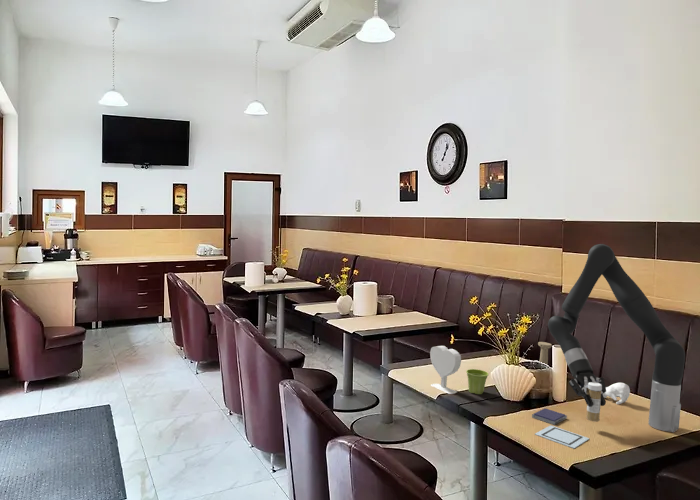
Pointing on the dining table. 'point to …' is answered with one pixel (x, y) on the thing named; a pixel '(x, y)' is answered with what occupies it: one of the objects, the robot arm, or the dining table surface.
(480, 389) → the plant pot
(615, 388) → the white bear figurine
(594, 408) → the sprinkles bottle
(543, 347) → the handle
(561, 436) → the print card
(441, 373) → the heart sculpture
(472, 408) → the dining table surface
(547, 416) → the ink pad
